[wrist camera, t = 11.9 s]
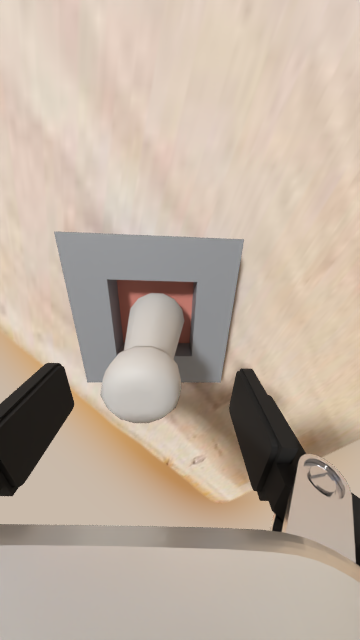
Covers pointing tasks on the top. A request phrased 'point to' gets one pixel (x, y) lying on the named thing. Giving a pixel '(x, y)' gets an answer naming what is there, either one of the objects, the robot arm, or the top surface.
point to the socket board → (151, 277)
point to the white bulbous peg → (146, 362)
